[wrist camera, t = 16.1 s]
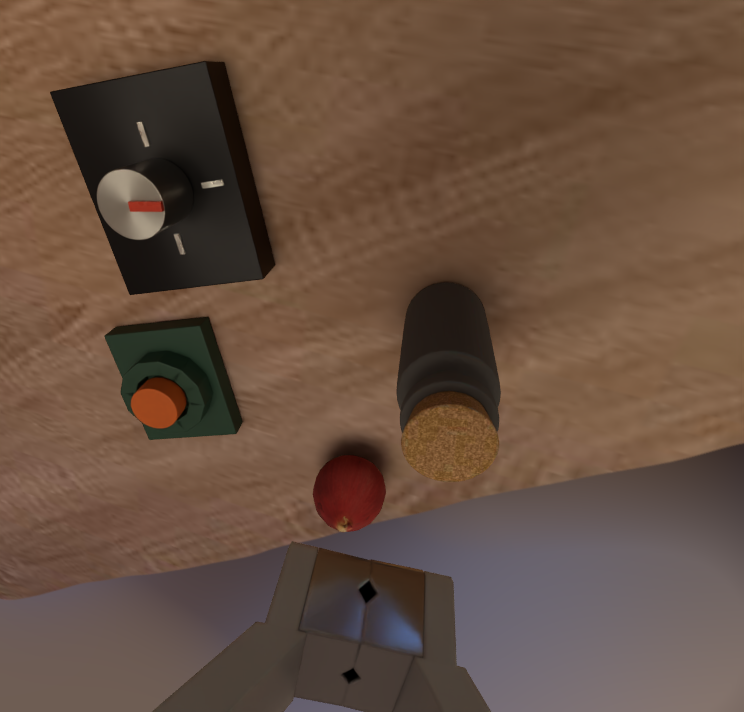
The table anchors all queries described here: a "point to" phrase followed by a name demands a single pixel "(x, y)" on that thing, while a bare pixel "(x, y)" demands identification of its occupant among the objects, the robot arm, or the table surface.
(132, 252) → the panel
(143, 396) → the button
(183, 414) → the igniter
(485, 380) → the bottle
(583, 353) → the table surface
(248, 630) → the robot arm
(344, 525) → the red oval fruit
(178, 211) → the hob knob
